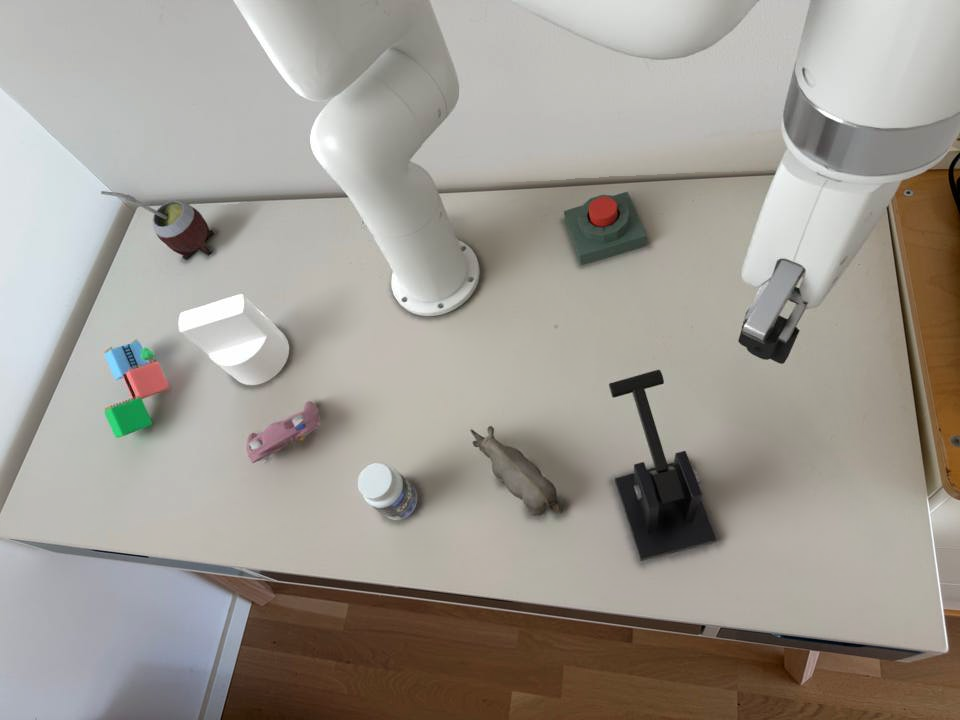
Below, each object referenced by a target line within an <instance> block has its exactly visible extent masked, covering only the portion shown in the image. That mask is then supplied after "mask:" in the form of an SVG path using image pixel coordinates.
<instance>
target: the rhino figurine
mask: <svg viewBox="0 0 960 720" xmlns="http://www.w3.org/2000/svg"><path fill="white" fill-rule="evenodd" d="M470 433H471V435H473V437H474V439H475V440H473V441H472V442H471V443H472V445H473V447H475V448H478V449H479V451H480V452H481V453H483V455H484V456H485V457H487V458H488V459H490V462H491V468H492V473H493V475H494V476H495V477H496V478H497V479H499V480H500V482H501V483H502V484H504V485H505V487H506V488H507V491H509V492H510V494H512V495H513V496H514V497H515V498H518V499H520V500H522V501H523V504H524V505H525V507H526V508H527V509H528V511H529V514H530V515H531V516H535V517H539V516H541V515H542V513H543V511H544V510H545V509H546V507H547V506H550V509H551V511H553V512H554V513H556V514H559V515H560V514H562V512H563V511H564V502H562V501H561V500H559V499H558V493H557V489H556V487H555V485H554V483H553V482H551V480H549V479H548V478H547V477H546V476H544V475H543V474H542V471H541V470H540V468H539V467H538V466H537V465H536V463H533V462H532V461H531V460H529V459H528V458H527V457H526V456H525V454H524V453H523V452H521V451H520V450H519V449H518V448H516V447H513V446H509V445H505V444H503V443H502V442H500V441H499V440H497V439H496V438H495V436H494V433H495V428H494V427H493V426H492V425H489V426H488V427H487V433H488V434H487V436H486V437H485V436H482V435H481V434H479V433H478V432H477V431H475V430H474V429H472V428H471V429H470Z"/></svg>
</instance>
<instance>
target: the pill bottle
mask: <svg viewBox="0 0 960 720" xmlns="http://www.w3.org/2000/svg"><path fill="white" fill-rule="evenodd" d="M357 488H358V490H359V492H360V494H361V495H362V496H363V499H364V500H365V502H366V503H367V504H368V505H369V506H371V507H372V508H373V509H375V510H376V511H377V512H379V513H380V514H382V515H383V516H384V517H386V518H388V519H390V520H393V521H400V520H404V519H406V518H407V517H409V516H410V515H411V514H413V512H414V510H415V509H416V507H417V503H418V493H417V490H416V488H415V487H414V486H413V484H412V483H410V481H408V480H407V478H405V477H404V476H403V475H402V474H401V473H400V472H399V471H398V470H397V469H395V468H394V467H391V466H387V465H386V464H384V463H381V462H376V463H371V464H369V465H367V466H365V468H363V470H362V471H360V473H359V476H358V478H357Z"/></svg>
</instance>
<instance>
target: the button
mask: <svg viewBox="0 0 960 720" xmlns="http://www.w3.org/2000/svg"><path fill="white" fill-rule="evenodd" d="M589 215H590V220H591V222H592V223H593V224H594V225H596V226H599V227H606V226H609V225H611V224H613V223H614V222H615V221H616V219H617V204H616V202H615V201H614V200H613V199H611V198H609V197H600V198H597V199H595V200H593V201H592V202H591V204H590V206H589Z"/></svg>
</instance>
